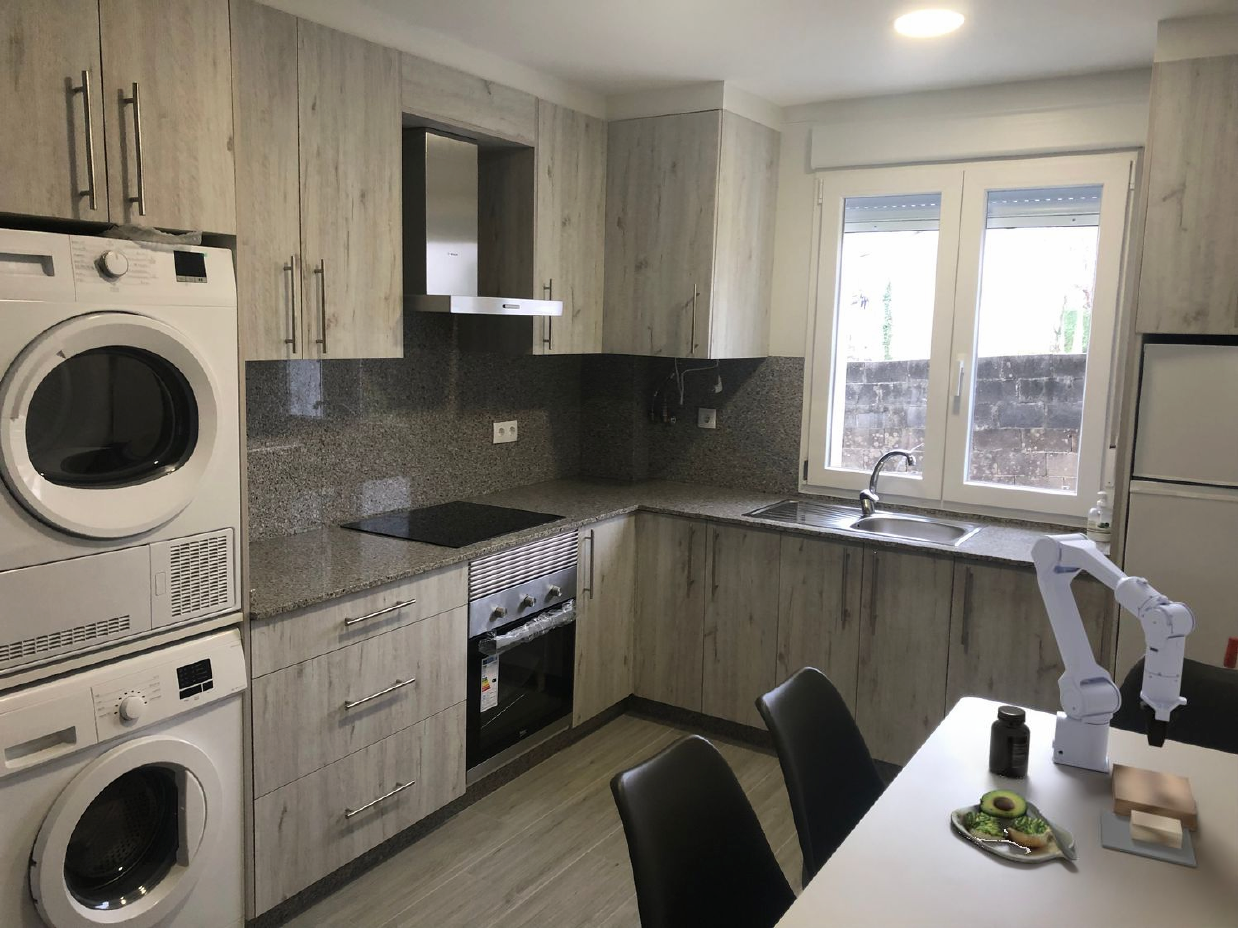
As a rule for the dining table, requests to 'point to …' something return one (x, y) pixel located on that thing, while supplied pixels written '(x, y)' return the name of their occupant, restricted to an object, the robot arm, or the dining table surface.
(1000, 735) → the supplement bottle
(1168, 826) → the ash block
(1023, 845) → the salad plate
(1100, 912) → the dining table surface
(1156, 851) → the rubber mat
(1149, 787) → the block
